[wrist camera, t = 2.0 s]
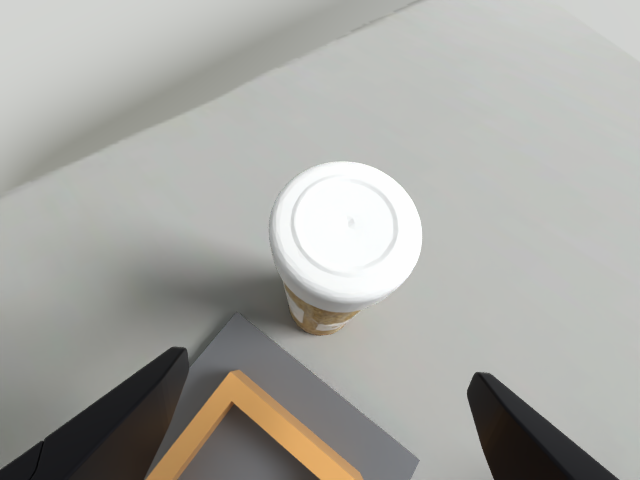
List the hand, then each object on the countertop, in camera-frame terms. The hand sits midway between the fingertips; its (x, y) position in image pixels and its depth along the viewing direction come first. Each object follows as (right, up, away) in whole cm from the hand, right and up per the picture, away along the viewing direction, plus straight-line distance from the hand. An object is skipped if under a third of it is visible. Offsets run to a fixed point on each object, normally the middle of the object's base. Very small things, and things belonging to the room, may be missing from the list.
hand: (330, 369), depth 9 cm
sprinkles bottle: (0, 0, +12) cm, 12 cm away
